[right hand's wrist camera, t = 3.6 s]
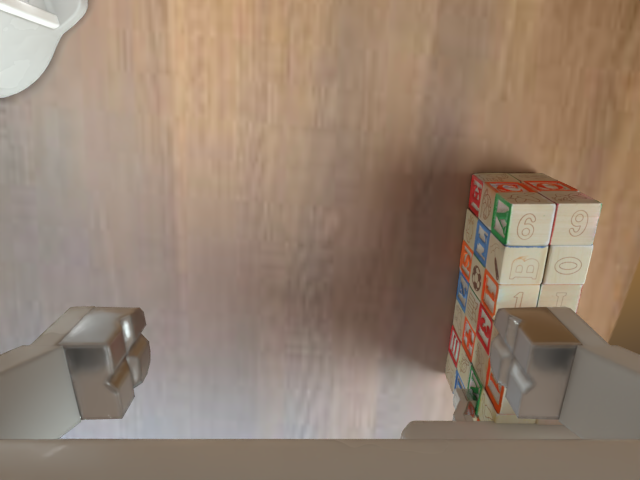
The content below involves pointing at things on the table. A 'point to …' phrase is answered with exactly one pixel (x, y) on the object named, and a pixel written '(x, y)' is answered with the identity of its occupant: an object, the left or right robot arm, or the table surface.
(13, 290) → the table surface
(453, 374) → the stack of blocks
